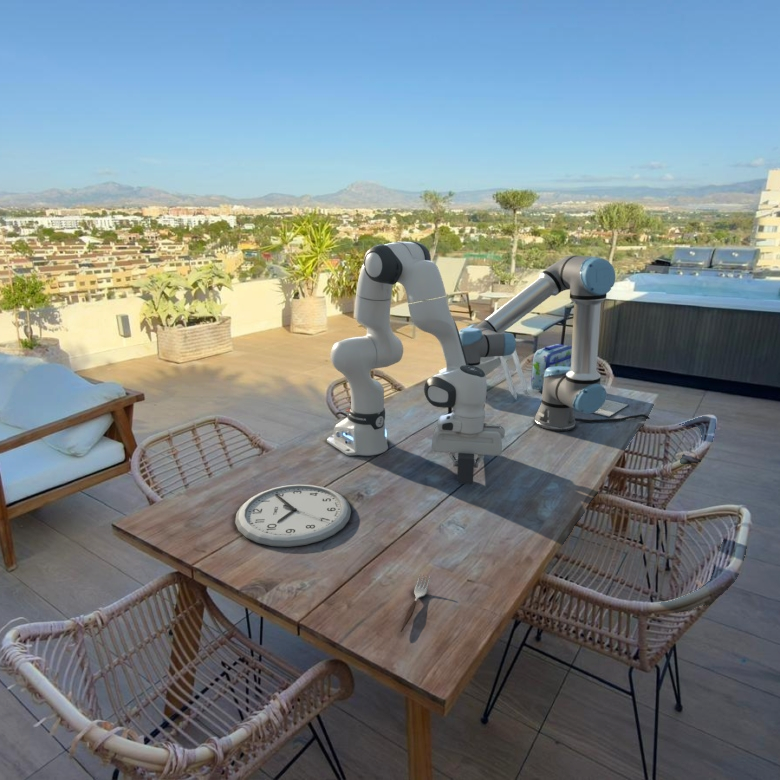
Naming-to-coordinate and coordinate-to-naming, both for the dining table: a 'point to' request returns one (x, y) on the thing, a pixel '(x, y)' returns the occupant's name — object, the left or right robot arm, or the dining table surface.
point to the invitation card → (610, 408)
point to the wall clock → (293, 515)
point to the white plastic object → (493, 362)
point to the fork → (418, 593)
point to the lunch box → (549, 362)
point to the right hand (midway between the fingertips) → (464, 440)
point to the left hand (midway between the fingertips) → (465, 466)
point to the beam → (465, 468)
